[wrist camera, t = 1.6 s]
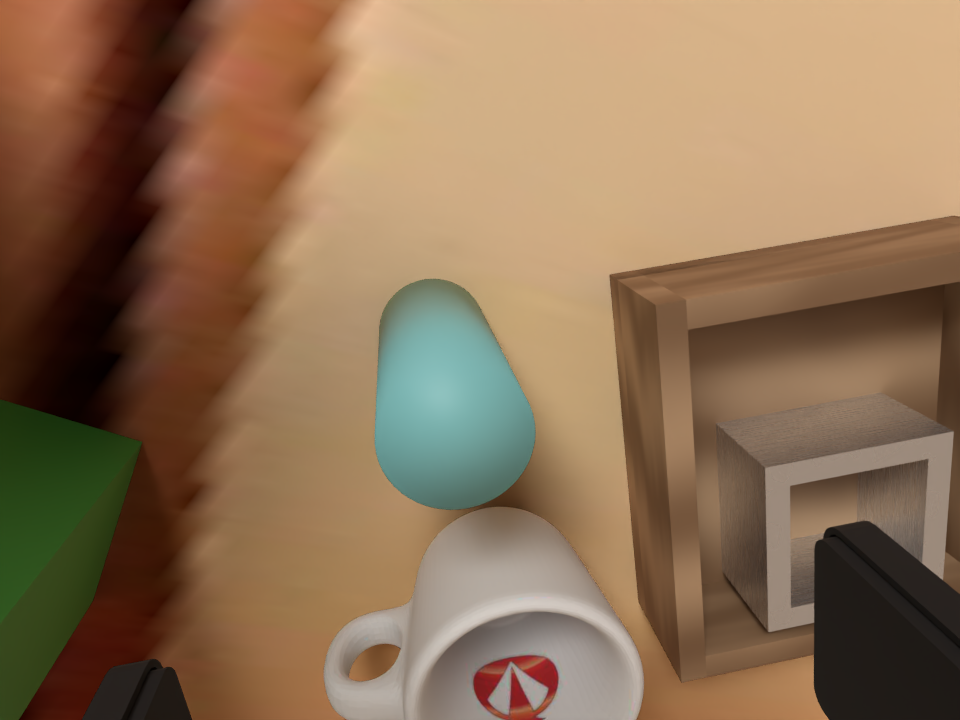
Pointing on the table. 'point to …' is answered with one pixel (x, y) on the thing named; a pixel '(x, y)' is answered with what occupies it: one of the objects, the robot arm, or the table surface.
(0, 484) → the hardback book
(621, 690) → the cup
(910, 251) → the box
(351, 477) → the table surface
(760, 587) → the socket
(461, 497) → the plug
